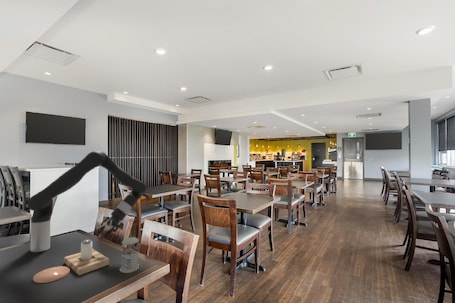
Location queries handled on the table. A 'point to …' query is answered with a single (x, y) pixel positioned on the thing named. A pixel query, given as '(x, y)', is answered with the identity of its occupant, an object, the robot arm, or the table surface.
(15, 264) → the table surface
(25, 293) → the table surface
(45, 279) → the terracotta plate
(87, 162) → the robot arm
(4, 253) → the table surface
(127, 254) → the french press
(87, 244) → the pepper mill
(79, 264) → the mill caddy
